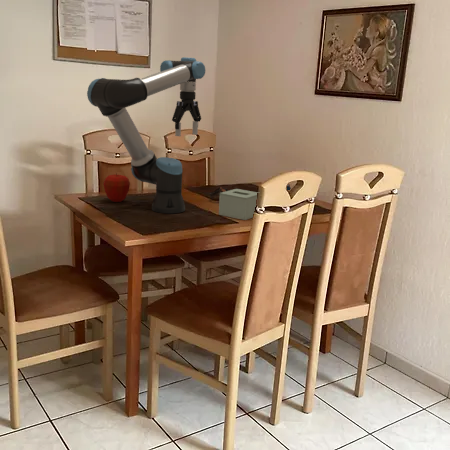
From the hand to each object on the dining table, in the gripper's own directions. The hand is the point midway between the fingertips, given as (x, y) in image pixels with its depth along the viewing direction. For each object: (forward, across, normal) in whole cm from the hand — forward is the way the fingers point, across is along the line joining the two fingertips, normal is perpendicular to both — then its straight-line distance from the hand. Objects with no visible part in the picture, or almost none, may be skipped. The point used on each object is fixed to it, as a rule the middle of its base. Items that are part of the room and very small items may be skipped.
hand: (186, 135), depth 262 cm
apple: (+32, -30, +18) cm, 47 cm away
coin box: (+32, -9, -39) cm, 51 cm away
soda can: (+32, +15, -48) cm, 60 cm away
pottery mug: (+32, +8, -17) cm, 37 cm away
